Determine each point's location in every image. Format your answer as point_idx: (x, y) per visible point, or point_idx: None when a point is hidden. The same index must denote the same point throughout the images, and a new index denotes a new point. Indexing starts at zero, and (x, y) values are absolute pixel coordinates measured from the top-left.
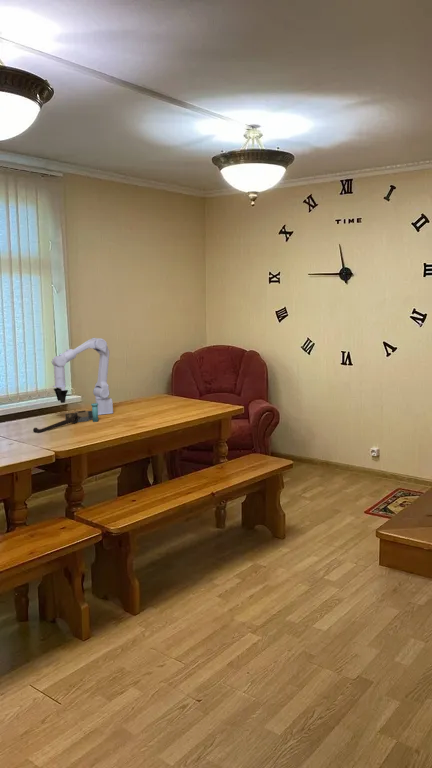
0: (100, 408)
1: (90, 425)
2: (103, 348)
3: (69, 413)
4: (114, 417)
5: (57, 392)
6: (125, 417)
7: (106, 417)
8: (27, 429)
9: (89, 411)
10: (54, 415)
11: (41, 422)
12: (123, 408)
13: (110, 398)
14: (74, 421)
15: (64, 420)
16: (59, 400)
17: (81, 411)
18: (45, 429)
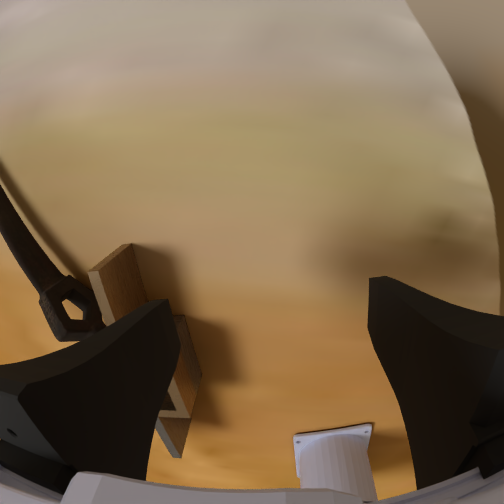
0: (304, 470)
1: (40, 349)
2: None
3: (100, 305)
4: (199, 464)
5: (432, 365)
6: (184, 481)
7: (212, 448)
8: (37, 13)
9: (155, 425)
10: (458, 195)
11: (211, 56)
12: (381, 489)
13: None
14: (69, 299)
15: (4, 239)
16: (369, 299)
17: (171, 393)
18: None
